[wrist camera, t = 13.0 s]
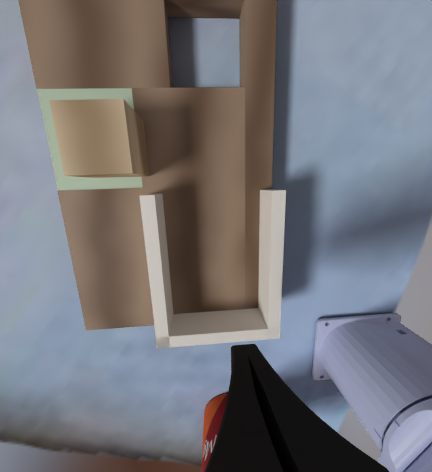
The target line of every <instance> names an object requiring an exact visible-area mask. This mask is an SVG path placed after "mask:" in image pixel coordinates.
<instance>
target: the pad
mask: <svg viewBox="0 0 432 472" xmlns="http://www.w3.org/2000/svg"><path fill="white" fill-rule="evenodd" d="M37 91H38V96H39V100H40V105H41V110H42V115H43V120H44V125H45V130H46V135H47V140H48V144H49V149H50V154H51V159H52V164H53V169H54V174H55V179H56V183H57V188H58V191H65V190H94V189H123V188H143V185H142V177H117V178H88V177H74V176H64V171H63V166H62V161H61V156H60V151H59V146H58V141H57V136H56V131H55V126H54V121H53V116H52V111H51V106H50V101H49V100H88V99H124V100H125V101H126V102H127V103H128V104H129V105H130V107H131V108H132V109H133V110H134V105H133V97H132V88H87V89H37Z"/></svg>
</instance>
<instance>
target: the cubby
mask: <svg viewBox="0 0 432 472" xmlns="http://www.w3.org/2000/svg"><path fill="white" fill-rule="evenodd" d="M139 197H140V206H141V215H142V223H143V232H144V240H145V249H146V257H147V266H148V274H149V283H150V291H151V300H152V308H153V317H154V325H155V334H156V343H157V348H169V347H181V346H193V345H205V344H218V343H230V342H242V341H254V340H266V339H279V338H280V320H281V297H282V273H283V250H284V227H285V204H286V190H272V189H271V190H260V225H259V293H258V308H252V309H239V310H225V311H211V312H197V313H183V314H173V303H172V293H171V282H170V271H169V260H168V249H167V238H166V227H165V216H164V205H163V194H146V195H140V196H139Z"/></svg>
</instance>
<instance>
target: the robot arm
mask: <svg viewBox="0 0 432 472" xmlns="http://www.w3.org/2000/svg"><path fill="white" fill-rule="evenodd" d="M400 321H401V316H400V315H399V314H397V313H389V314H376V315H363V316H350V317H337V318H324V319H319V320H318V321H317V324H316V336H315V347H314V358H313V369H312V377H313V379H314V380H315V381H320V380H331V379H332V380H333V382H334V383H335V385H336V386H337V388H338V389H339V391H340V392H341V394H342V395H343V397H344V398H345V400H346V401H347V402H348V404H349V405H350V407H351V408H352V410H353V411H354V413H355V414H356V416H357V417H358V419H359V420H360V422H361V423H362V425H363V426H364V427H365V429H366V430H367V432H368V433H369V435H370V436H371V438H372V439H373V441H374V442H375V443H376V445H377V447H378V448H379V450H380V451H381V454H380V456H379V457H378V458H377V461H378V462H377V461H375V460H374V459H372V458H371V457H370V456H368V455H366V454H365V453H364V452H362V451H361V450H359V449H358V448H356V447H355V446H354V445H353V444H351V443H350V442H349V441H347V440H346V439H345V438H343V437H342V436H340V435H339V434H338V433H337V432H336V431H335V430H333V429H332V428H331V427H330V426H329V425H327V424H326V423H325V422H324V421H323V420H321V419H320V418H319V417H318V416H317V415H316V414H315V413H314V412H313V411H312V410H310V409H309V408H308V407H307V406H306V405H305V404H304V403H303V402H302V401H301V400H300V399H299V398H298V397H297V396H296V395H295V394H294V393H293V391H292V390H291V389H290V388H289V387H288V386H287V385H286V384H285V383H284V381H283V380H282V379H281V378H280V377H279V375H278V374H277V373H276V372H275V371H274V369H273V368H272V367H271V366H270V364H269V363H268V362H267V360H266V359H265V358H264V356H263V355H262V353H261V352H260V350H259V349H258V347H257V346H256V345H255V344H247V345H235V346H232V347H231V380H230V386H229V392H228V398H227V402H226V407H225V411H224V415H223V418H222V422H221V425H220V429H219V432H218V435H217V438H216V441H215V444H214V447H213V450H212V453H211V456H210V459H209V461H208V464H207V466H206V469H205V471H204V472H432V345H431V344H430V343H428V342H427V341H425V340H424V339H422V338H421V337H419V336H418V335H417V334H415V333H413V332H412V331H411V330H409V329H408V328H406V327H405V326H404V325H402V324H401V323H400ZM325 323H327V324H325Z"/></svg>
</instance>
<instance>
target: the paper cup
mask: <svg viewBox="0 0 432 472" xmlns="http://www.w3.org/2000/svg"><path fill="white" fill-rule="evenodd" d="M227 398H228V393H224V394H220V395H218V396H216V397H214V398H213V399H211V400H210V401H209V403H208V404H207V406H206V408H205V413H204V428H203V450H202V472H204V471H205V469H206V466H207V464H208V461H209V459H210V456H211V453H212V450H213V447H214V444H215V441H216V438H217V435H218V432H219V429H220V425H221V422H222V418H223V415H224V411H225V407H226V402H227Z"/></svg>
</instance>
